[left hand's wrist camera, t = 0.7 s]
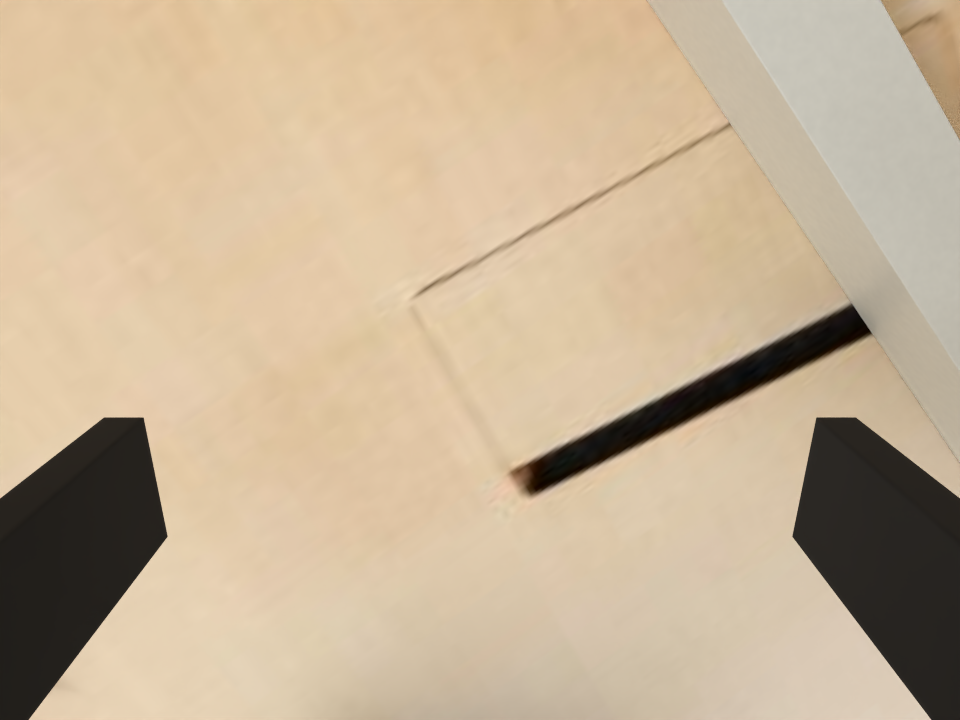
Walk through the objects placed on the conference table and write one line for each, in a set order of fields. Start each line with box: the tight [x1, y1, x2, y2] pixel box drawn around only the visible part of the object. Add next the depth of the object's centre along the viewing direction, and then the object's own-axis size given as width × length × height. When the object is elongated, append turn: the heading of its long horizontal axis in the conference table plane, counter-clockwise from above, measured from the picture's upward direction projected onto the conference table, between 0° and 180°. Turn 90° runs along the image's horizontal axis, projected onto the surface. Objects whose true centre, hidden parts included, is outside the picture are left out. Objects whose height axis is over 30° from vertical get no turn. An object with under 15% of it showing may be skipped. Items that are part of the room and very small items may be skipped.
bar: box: [647, 0, 960, 463], centre depth 29 cm, size 81×5×8 cm, turn 41°
